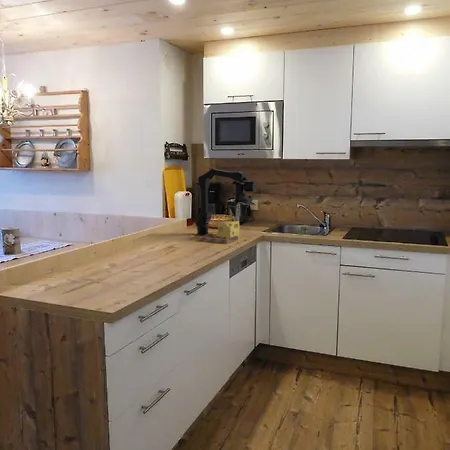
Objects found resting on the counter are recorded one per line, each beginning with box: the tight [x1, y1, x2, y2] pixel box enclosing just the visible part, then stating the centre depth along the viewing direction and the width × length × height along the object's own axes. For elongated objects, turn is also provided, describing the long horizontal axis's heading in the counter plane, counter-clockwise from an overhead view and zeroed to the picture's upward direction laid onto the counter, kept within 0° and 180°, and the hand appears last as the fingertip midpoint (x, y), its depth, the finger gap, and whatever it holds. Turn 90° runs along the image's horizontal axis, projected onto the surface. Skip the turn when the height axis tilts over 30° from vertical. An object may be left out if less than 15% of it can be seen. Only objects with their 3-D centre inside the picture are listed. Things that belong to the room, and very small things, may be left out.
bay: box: [198, 233, 239, 245], centre depth 277 cm, size 20×14×2 cm
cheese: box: [217, 220, 240, 239], centre depth 288 cm, size 10×11×10 cm
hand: (239, 215), depth 285 cm, fingers open, 9 cm apart
